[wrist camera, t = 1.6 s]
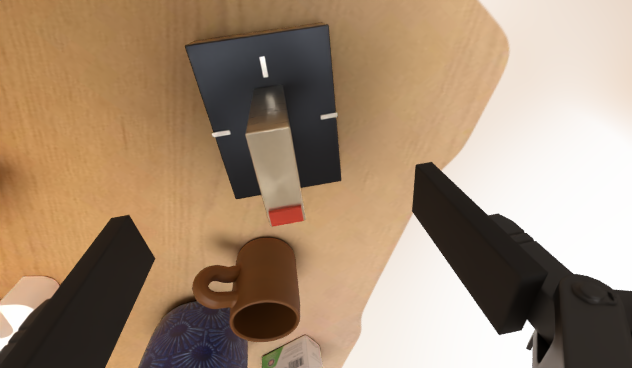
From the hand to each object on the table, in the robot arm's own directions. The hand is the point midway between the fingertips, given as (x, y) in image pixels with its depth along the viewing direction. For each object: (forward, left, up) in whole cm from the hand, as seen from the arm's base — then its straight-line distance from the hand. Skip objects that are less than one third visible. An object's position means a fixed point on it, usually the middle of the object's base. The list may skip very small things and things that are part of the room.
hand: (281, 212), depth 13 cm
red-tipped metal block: (0, 0, -12) cm, 12 cm away
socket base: (0, 0, -15) cm, 15 cm away
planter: (+27, -15, -15) cm, 34 cm away
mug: (+16, -6, -15) cm, 23 cm away
